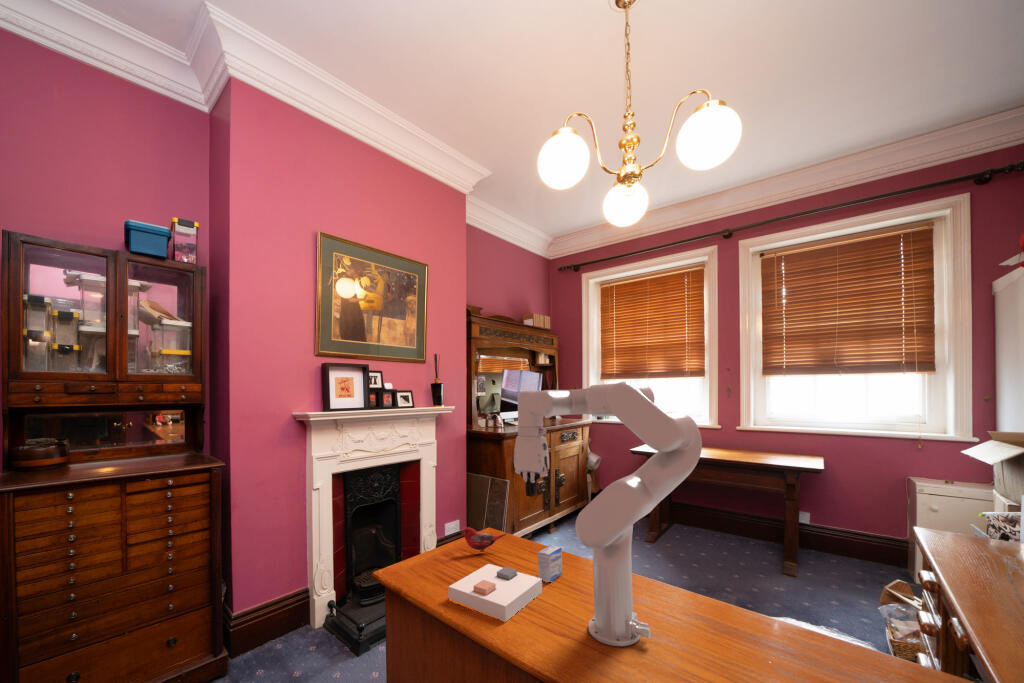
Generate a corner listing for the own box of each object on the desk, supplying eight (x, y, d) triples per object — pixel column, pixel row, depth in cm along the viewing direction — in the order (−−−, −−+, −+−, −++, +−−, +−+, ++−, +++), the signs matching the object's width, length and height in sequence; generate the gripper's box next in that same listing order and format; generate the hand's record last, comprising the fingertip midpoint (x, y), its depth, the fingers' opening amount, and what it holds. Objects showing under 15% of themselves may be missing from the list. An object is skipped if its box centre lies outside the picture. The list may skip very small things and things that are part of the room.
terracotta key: (495, 594, 117) (495, 583, 117) (486, 601, 113) (486, 589, 114) (483, 590, 119) (483, 579, 120) (473, 597, 116) (473, 585, 116)
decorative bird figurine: (460, 555, 152) (460, 526, 153) (506, 549, 157) (506, 521, 158) (461, 558, 149) (461, 529, 150) (508, 552, 154) (508, 524, 156)
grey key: (516, 580, 126) (516, 570, 126) (508, 586, 122) (508, 575, 123) (505, 577, 128) (505, 566, 129) (496, 582, 125) (496, 571, 125)
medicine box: (549, 584, 129) (549, 554, 130) (537, 580, 131) (537, 551, 132) (562, 575, 135) (562, 547, 136) (550, 571, 138) (550, 544, 139)
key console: (542, 593, 123) (542, 578, 123) (505, 622, 107) (505, 606, 108) (488, 576, 134) (488, 563, 134) (448, 601, 118) (448, 586, 119)
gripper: (558, 432, 123) (559, 496, 121) (516, 430, 131) (517, 489, 129) (546, 434, 117) (547, 502, 115) (503, 432, 125) (503, 494, 123)
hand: (531, 495), depth 122 cm, fingers closed
